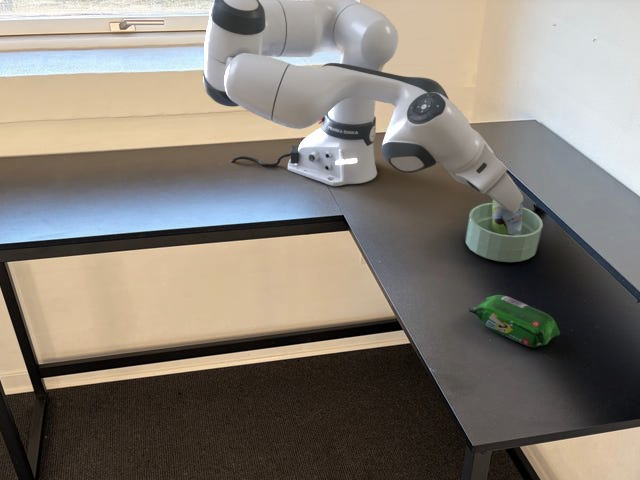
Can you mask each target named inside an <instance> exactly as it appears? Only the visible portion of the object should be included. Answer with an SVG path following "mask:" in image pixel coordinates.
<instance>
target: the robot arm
mask: <svg viewBox="0 0 640 480" xmlns="http://www.w3.org/2000/svg"><path fill="white" fill-rule="evenodd" d="M204 39H205V41H204V66H203V67H204V71H203V74H202V81H203V88H204V91H205V93H206V94H207V95H208V97H209V98H210V99H212V101H214V102H215V103H216V104H219V105H221V106H224V107H230V108H231V107H232V108H234V107H241V108H243V109H245V110H246V111H247V112H250V113H252V114H254V115H256V116H259V117H260V118H263V119H265V120H268V121H270V122H273V123H274V124H278V125H281V126H283V127H286V128H289V129H294V130H295V129H296V130H303V129H306V128H309V127H312V126H314V125H315V124H318V125H320V124H321V125H320V127H319V128H318V129H316V130H314V131H313V132H312V133H310V134H309V135H307V136H306V137H305V138H303V139H302V140H301V142H300V144H299V145H292V146H291V149H290V152H288V153H284V154H281V155H280V156H279V157H278V158H277V160H276V162H273V163H269V162H268V163H266V162H263V161H262V160H261V159H259V158H254V157H251V156H246V155H239V156H236V157H234V158H232V159H231V160H230V163H235V162H236V161H239V160H246V161H250V162H255V163H258V164H259V165H260V166H263V167H270V168H271V167H276V166H278V165H279V164H280V163H281V161H282V159H284V158H287V157H290V159H289V161H288V163H287V170H288V171H289V172H292V173H295V174H297V175H300V176H303V177H306V178H309V179H311V180H313V181H314V180H315V181H316V182H320V183H323V184H325V185H328V186H331V187H340V186H344V185H357V184H364V183H367V182H369V181H370V182H371V181H372V180H374V179H375V178H376V177H377V175H378V171H377V170H378V169H377V167H376V160H375V149H374V148H375V146H374V145H375V144H374V141H375V138H376V133H377V126H376V125H377V118H376V115H375V114H376V113H375V112H376V102H379V103H385V104H388V105H392V106H394V110H393V113H392V115H391V118H390V121H389V124H388V126H387V129H386V131H385V134H384V137H383V140H382V144H381V148H380V150H381V154H382V156H383V157H384V159H385V160H386V161H387V163H388V164H389V165H390V166H392V167H393V169H395V170H397V171H399V172H401V173H404V174H413V173H418V172H420V171H423V170H426V169H428V168H431V167H433V166H435V165H436V164H437V163H439V164H441V166H442V167H443V168H444V170H446V172H448V174H449V175H450V176H451V177H452V178H453V179H454V180H455V181H456V182H457V183H459V184H463V185H466V186H468V187H471V188H472V189H475V191H477V192H478V193H481V194H483V195H486V196H488V197H490V198H491V199H492V200H493V199H494V200H495V201H496V202H497V203H498V204H500V205H501V206H502V207H503V208H505V209H506V210H507V211H509V212H512V213H516V212H517V211H518V210H519V209H520V206H519V205H520V204H521V203H522V201H524V196H523V194H522V192H521V191H520V189H519V187H518V186H517V185H516V183H515V182H514V180H513V179H512V177H511V176H510V175H509V174H508V173H507V171H508V167H507V166H506V165H505V163H504V162H503V161H502V160H501V159H500V158H499V157H498V156H496V154H495V153H494V151H493V149H492V148H491V147H490V145H488V143H487V142H486V141H485V139H484V137H482V135H481V134H480V133H479V132H478V131H477V130H475V129H473V128H472V127H471V123H470V121H469V119H468V117H466V116H465V115H464V113H463V112H462V111H461V110H460V108H459V107H458V106H457V105H456V104H454V102H453V101H451V100H450V99H449V95H448V94H447V92H446V91H445V89H444V88H443V86H442V85H441V84H440V83H439V82H438V81H436V80H435V79H431V78H428V77H421V76H419V77H418V76H405V75H399V74H394V73H390V72H389V73H388V72H385V71H383V68H384V67H385V65H386V64H387V63H389V62H390V61H391V59H393V58H394V55H395V54H396V51H397V49H398V47H399V33H398V30H397V28H396V26H395V25H394V24H393V23H392V22H391V20H390V19H389V18H388V17H387V16H386V15H385V14H384V13H382V12H380V11H378V10H377V9H375V8H373V7H370V6H368V5H366V4H364V3H362V2H359V1H357V0H213V1H212V4H211V7H210V9H209V20H208V24H207V28H206V34H205V38H204ZM321 52H336V53H339V54H340V59H339V62H328V63H325V64H323V65H322V66H318V67H307V66H306V67H304V66H299V65H295V64H292V63H289V62H287V61H284V60H280V59H277V58H310V57H312V56H314V55H315V54H317V53H321Z"/></svg>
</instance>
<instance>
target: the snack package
mask: <svg viewBox="0 0 640 480" xmlns="http://www.w3.org/2000/svg"><path fill="white" fill-rule="evenodd" d="M468 312H469V313H471V314H474V315H475V316H477V318H478V319H479V320H480V322H481V323H482V325H484V326H485V327H486V328H488V329H489V330H490V331H493V332H495V333H496V334H498V335H501V336H502V337H505V338H507V339H510V340H511V341H514V342H517V343H518V344H521V345H523V346H526V347H529V348H538V347H543V346H547V345H548V344H549V342H550V341H551V340H552V339H554V338H556V337H558V336H560V334H561V331H560V330H559V327H558V325H557V322H556V320H555V319H554V318H553V317H552V316H551V315H550V314H548V313H546V312H544V311H543V310H541V309H537V308H535V307H533V306H530V305H528V304H526V303H524V302H522V301H519V300H517V299H514V298H512V297H511V296H507V295H503V294H495V295H492V296H487V297H485V298H484V299H483V301H482V302H480V304H478V305H476V306H474V307H472V308H468Z"/></svg>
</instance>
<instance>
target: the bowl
mask: <svg viewBox="0 0 640 480" xmlns="http://www.w3.org/2000/svg"><path fill="white" fill-rule="evenodd" d="M492 213H493V202H487V203H482V204H478V205H477V206H475V207H473V208H472V209H471V210H470V212H469V214H468V221H467V227H466V231H465V244H466V246H467V247H468V249H469V250H470V251H472V252H473V253H475V254H476V255H478V256H480V257H481V258H485V259H488V260H492V261H496V262H503V263H518V262H522V261H526V260H530V259H531V258H532V257H534V256H535V255H536V253H537V251H538V248H539V244H540V240H541V236H542V231H543V228H544V224H543V220H542V219H541V217H540V216H539V215H538V214H537V213H536V212H534V211H532V210H530V209H529V208H526V207H524V206H522V228H521V235H516V236H512V235H502V234H498V233H494V232H492Z"/></svg>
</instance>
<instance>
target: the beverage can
mask: <svg viewBox="0 0 640 480" xmlns="http://www.w3.org/2000/svg"><path fill="white" fill-rule="evenodd" d="M523 201H524V200H523ZM523 201H522V203H521V204H520V205H519V206H520V209H519V210H518V211H517V212H516V213H512V212H509V211H507V210H506V209H505V208H503V207H502V206H501V205H500V204H498V203H497V202H496V201H495V200H494V199H492V203H493V213H492V232H494V233H498V234H502V235H512V236H516V235H521V228H522V207H523V203H524V202H523Z"/></svg>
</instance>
